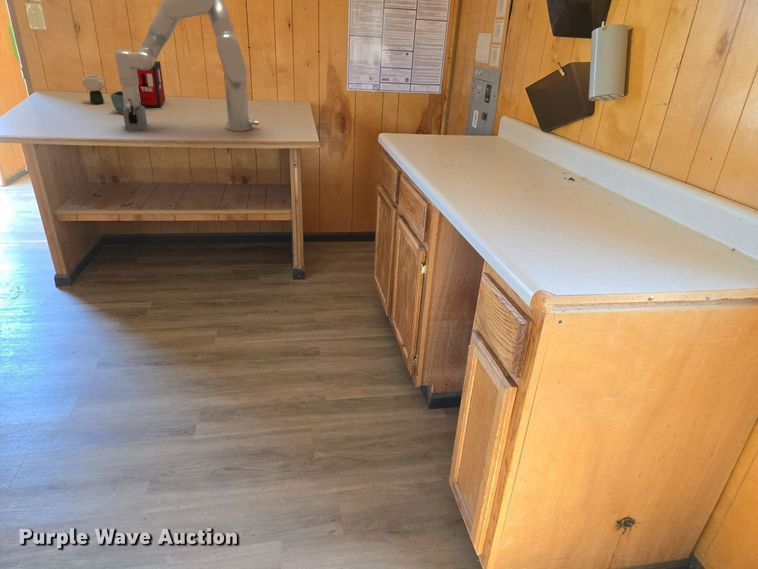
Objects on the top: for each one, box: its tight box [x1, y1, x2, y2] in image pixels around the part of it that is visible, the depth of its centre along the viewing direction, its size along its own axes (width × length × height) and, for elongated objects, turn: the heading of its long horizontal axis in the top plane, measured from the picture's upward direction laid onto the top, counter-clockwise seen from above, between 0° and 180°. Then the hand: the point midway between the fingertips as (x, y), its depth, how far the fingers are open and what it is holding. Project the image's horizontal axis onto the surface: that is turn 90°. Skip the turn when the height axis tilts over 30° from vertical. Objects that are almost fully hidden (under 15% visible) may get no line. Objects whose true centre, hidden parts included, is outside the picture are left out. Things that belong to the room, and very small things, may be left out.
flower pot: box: [110, 90, 125, 114], centre depth 257 cm, size 9×9×9 cm
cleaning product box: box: [137, 61, 166, 109], centre depth 270 cm, size 16×9×20 cm, turn 10°
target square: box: [123, 124, 150, 132], centre depth 240 cm, size 9×9×1 cm
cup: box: [122, 105, 148, 131], centre depth 238 cm, size 8×8×9 cm
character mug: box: [82, 74, 106, 104], centre depth 266 cm, size 11×7×13 cm, turn 88°
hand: (135, 120), depth 238 cm, fingers open, 9 cm apart
